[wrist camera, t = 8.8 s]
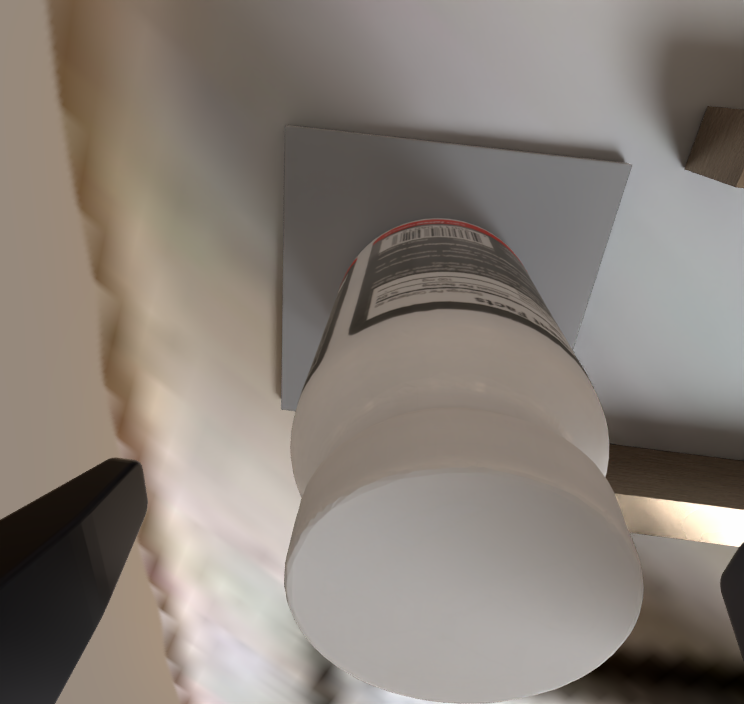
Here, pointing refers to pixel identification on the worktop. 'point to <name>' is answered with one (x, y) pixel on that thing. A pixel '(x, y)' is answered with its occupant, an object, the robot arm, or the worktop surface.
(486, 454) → the pill bottle
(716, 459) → the ball knob bracket
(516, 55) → the worktop surface
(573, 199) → the coaster
